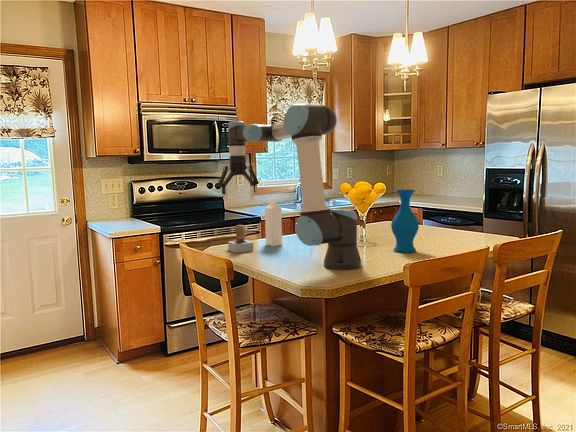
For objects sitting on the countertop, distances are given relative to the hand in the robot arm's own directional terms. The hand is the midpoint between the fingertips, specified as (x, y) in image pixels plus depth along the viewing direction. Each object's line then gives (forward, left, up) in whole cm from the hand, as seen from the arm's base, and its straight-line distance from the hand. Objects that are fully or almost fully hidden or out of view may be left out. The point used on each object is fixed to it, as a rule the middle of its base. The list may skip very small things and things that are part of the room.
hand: (239, 200), depth 223 cm
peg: (0, 0, -24) cm, 24 cm away
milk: (+3, -19, -24) cm, 31 cm away
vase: (-46, -61, -24) cm, 81 cm away
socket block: (0, 0, -24) cm, 24 cm away
